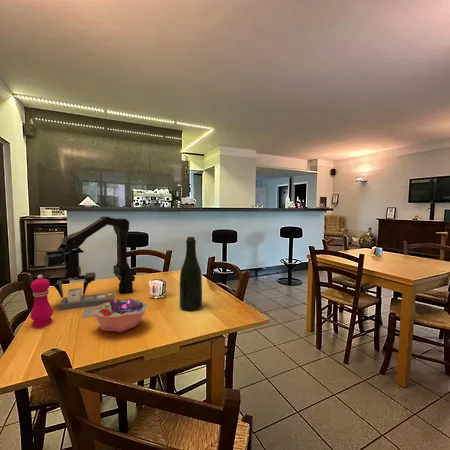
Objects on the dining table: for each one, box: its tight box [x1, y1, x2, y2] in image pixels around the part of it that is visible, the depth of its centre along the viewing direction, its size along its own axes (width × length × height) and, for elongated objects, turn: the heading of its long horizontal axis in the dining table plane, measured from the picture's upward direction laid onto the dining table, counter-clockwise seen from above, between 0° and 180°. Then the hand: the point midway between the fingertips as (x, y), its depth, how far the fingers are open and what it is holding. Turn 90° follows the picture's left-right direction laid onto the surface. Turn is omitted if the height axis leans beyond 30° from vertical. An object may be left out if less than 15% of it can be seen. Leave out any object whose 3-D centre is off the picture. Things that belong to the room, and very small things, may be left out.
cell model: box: [92, 298, 148, 333], centre depth 100 cm, size 17×20×11 cm
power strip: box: [58, 292, 115, 311], centre depth 123 cm, size 22×9×4 cm, turn 111°
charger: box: [66, 287, 83, 303], centre depth 121 cm, size 5×5×7 cm
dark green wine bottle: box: [179, 236, 203, 312], centre depth 120 cm, size 10×10×33 cm
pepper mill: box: [29, 274, 54, 329], centre depth 102 cm, size 7×7×20 cm
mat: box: [81, 306, 97, 319], centre depth 115 cm, size 11×11×1 cm
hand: (73, 296), depth 121 cm, fingers open, 8 cm apart
